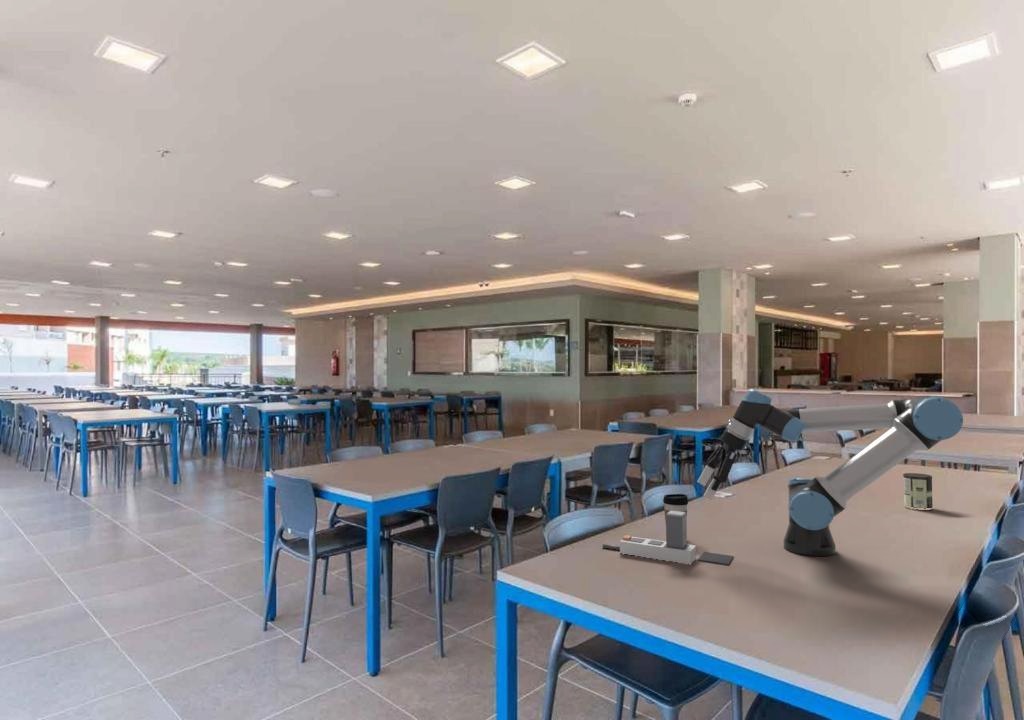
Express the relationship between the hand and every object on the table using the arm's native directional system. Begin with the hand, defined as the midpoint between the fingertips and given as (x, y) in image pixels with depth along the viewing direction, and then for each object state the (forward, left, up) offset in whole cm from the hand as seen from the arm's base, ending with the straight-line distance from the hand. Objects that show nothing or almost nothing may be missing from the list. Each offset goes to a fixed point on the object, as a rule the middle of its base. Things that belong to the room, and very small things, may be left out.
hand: (704, 490), depth 193 cm
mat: (-5, +9, -19) cm, 22 cm away
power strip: (+15, +15, -19) cm, 28 cm away
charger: (+5, +15, -15) cm, 22 cm away
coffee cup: (+11, -8, -19) cm, 24 cm away
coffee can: (-67, -105, -19) cm, 126 cm away
